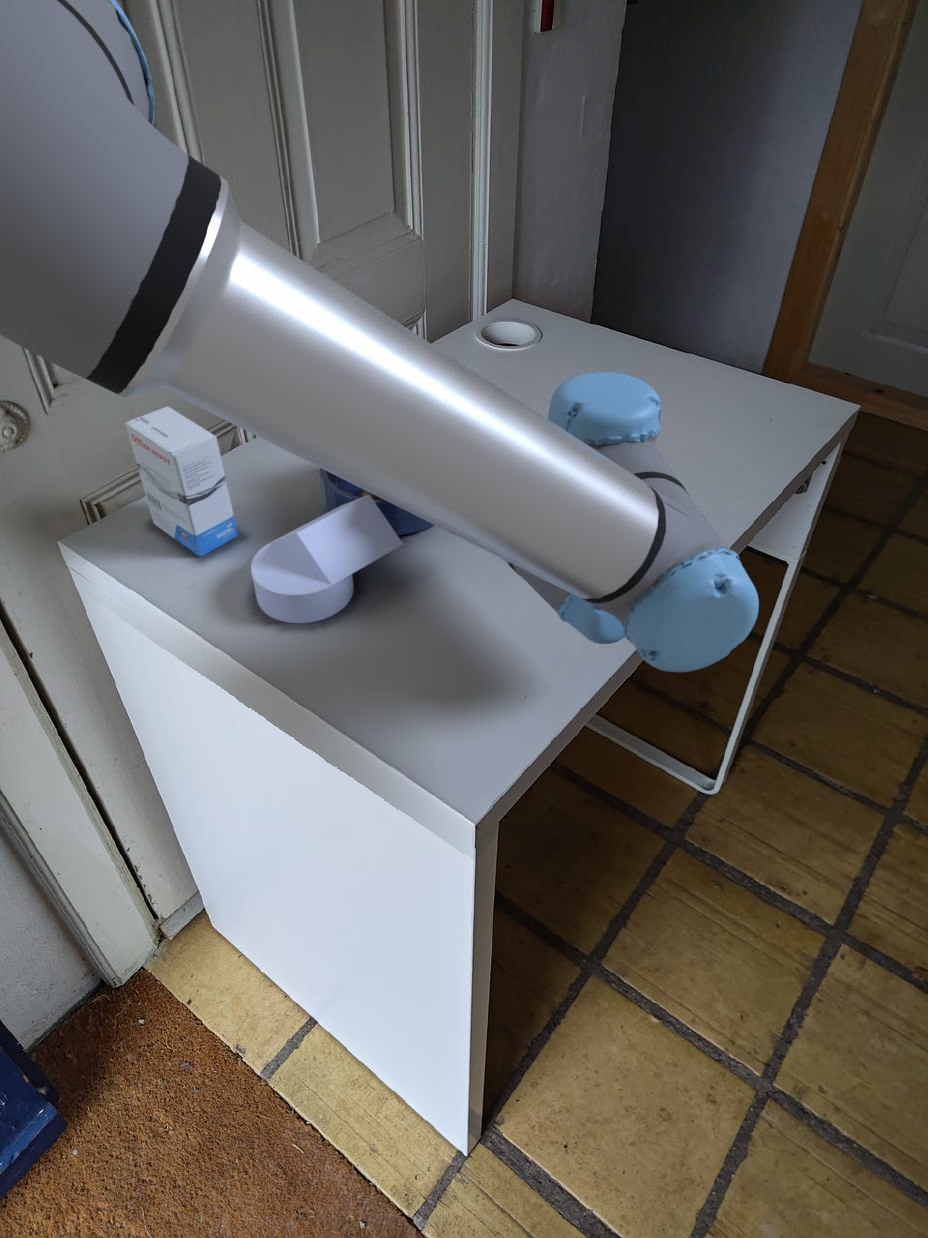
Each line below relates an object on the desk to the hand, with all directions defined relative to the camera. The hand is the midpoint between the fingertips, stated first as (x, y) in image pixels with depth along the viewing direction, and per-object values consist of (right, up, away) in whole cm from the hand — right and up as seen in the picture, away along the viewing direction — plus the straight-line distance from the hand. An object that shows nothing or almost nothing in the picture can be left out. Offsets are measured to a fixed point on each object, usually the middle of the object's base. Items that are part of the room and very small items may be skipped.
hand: (385, 397), depth 89 cm
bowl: (0, -10, +4) cm, 11 cm away
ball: (-1, -11, 0) cm, 11 cm away
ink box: (-19, -14, 0) cm, 24 cm away
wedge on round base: (-5, -19, -6) cm, 21 cm away
